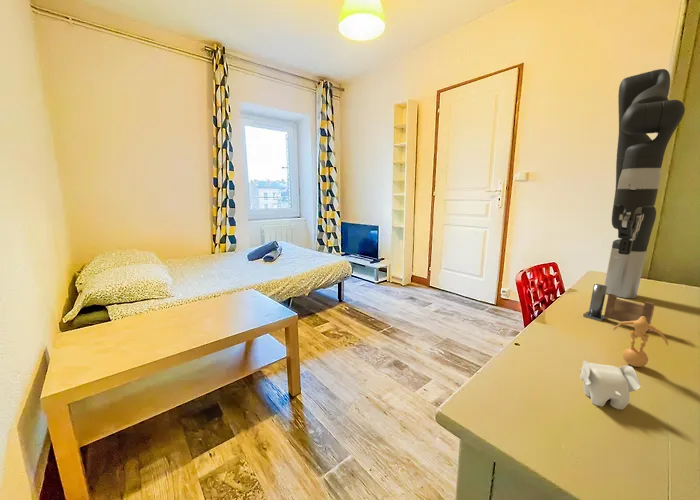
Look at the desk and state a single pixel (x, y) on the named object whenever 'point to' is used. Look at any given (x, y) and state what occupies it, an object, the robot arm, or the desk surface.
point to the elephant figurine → (609, 383)
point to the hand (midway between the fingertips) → (624, 254)
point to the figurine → (638, 355)
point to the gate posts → (601, 304)
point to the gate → (627, 309)
